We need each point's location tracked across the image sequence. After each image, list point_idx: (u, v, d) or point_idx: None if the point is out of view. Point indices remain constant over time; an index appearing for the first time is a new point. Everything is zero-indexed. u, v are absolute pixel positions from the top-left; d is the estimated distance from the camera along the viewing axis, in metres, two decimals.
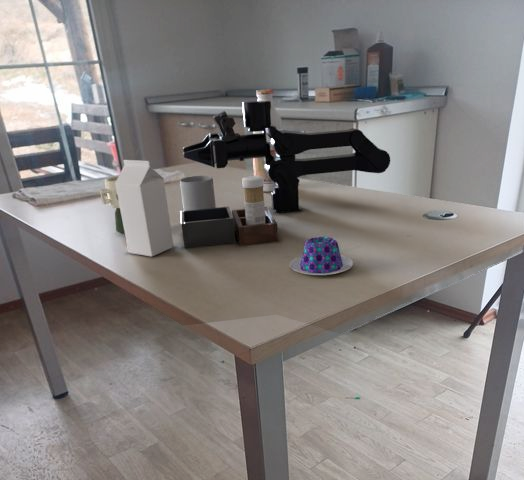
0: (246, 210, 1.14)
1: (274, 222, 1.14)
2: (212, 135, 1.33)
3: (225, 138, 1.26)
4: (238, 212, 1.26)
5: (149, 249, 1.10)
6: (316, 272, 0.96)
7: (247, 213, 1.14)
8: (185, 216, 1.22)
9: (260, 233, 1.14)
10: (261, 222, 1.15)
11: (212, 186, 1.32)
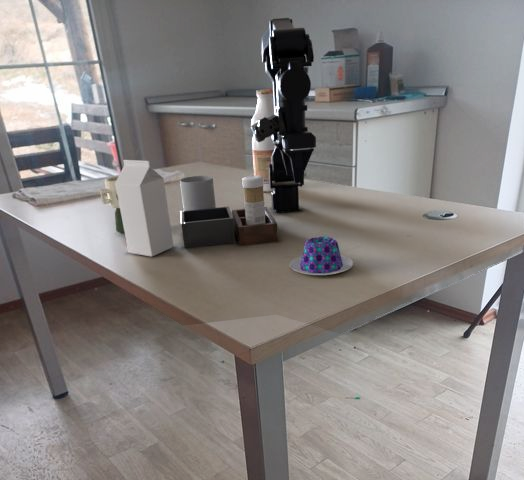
0: (246, 210, 1.14)
1: (274, 222, 1.14)
2: (275, 138, 1.14)
3: (281, 129, 1.06)
4: (238, 212, 1.26)
5: (149, 249, 1.10)
6: (316, 272, 0.96)
7: (247, 213, 1.14)
8: (185, 216, 1.22)
9: (260, 233, 1.14)
10: (261, 222, 1.15)
11: (212, 186, 1.32)
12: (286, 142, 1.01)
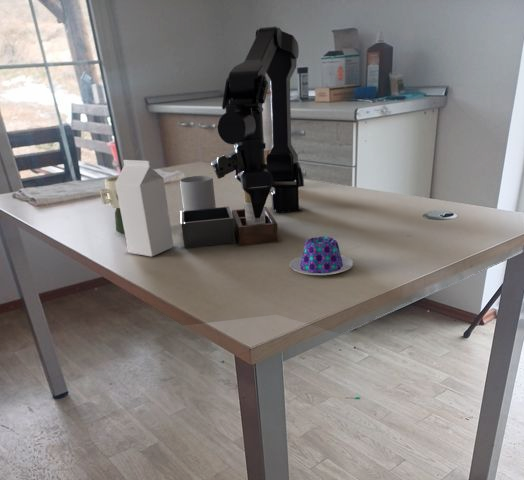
0: (246, 210, 1.14)
1: (274, 222, 1.14)
2: (236, 173, 1.17)
3: (240, 166, 1.08)
4: (238, 212, 1.26)
5: (149, 249, 1.10)
6: (316, 272, 0.96)
7: (247, 213, 1.14)
8: (185, 216, 1.22)
9: (260, 233, 1.14)
10: (261, 223, 1.15)
11: (212, 186, 1.32)
12: (243, 181, 1.03)
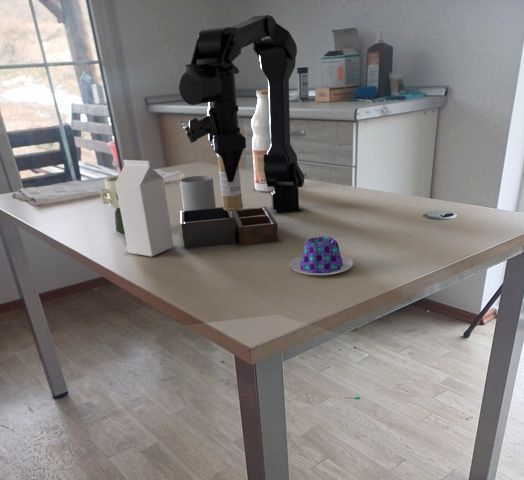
0: (221, 180, 1.12)
1: (274, 222, 1.14)
2: (210, 138, 1.14)
3: (212, 130, 1.05)
4: (238, 212, 1.26)
5: (149, 249, 1.10)
6: (316, 272, 0.96)
7: (222, 183, 1.12)
8: (185, 216, 1.22)
9: (260, 233, 1.14)
10: (237, 192, 1.13)
11: (212, 186, 1.32)
12: (215, 143, 1.01)
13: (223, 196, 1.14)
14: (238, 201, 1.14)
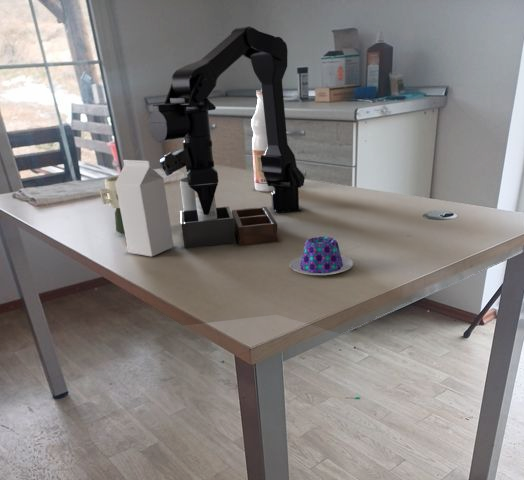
0: (197, 206, 1.17)
1: (274, 222, 1.14)
2: (188, 170, 1.18)
3: (187, 164, 1.10)
4: (238, 212, 1.26)
5: (149, 249, 1.10)
6: (316, 272, 0.96)
7: (198, 208, 1.17)
8: (185, 216, 1.22)
9: (260, 233, 1.14)
10: (212, 217, 1.18)
11: None
12: (188, 178, 1.05)
13: None
14: None
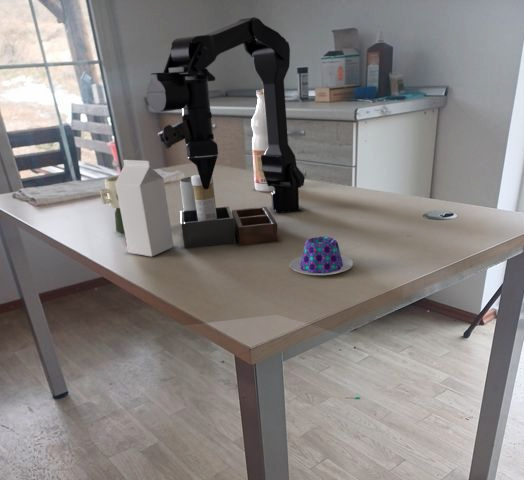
0: (197, 208, 1.17)
1: (274, 222, 1.14)
2: (187, 144, 1.16)
3: (186, 136, 1.07)
4: (238, 212, 1.26)
5: (149, 249, 1.10)
6: (316, 272, 0.96)
7: (198, 210, 1.17)
8: (185, 216, 1.22)
9: (260, 233, 1.14)
10: (212, 219, 1.17)
11: (212, 186, 1.32)
12: (187, 150, 1.03)
13: None
14: None
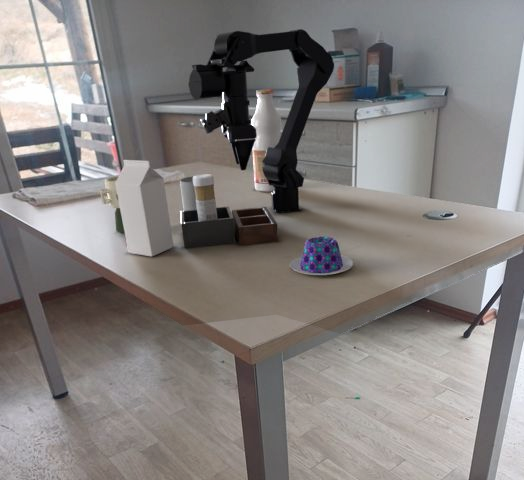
0: (197, 208, 1.17)
1: (274, 222, 1.14)
2: (224, 130, 1.27)
3: (226, 122, 1.19)
4: (238, 212, 1.26)
5: (149, 249, 1.10)
6: (316, 272, 0.96)
7: (198, 211, 1.17)
8: (185, 216, 1.22)
9: (260, 233, 1.14)
10: None
11: None
12: (229, 133, 1.14)
13: None
14: None
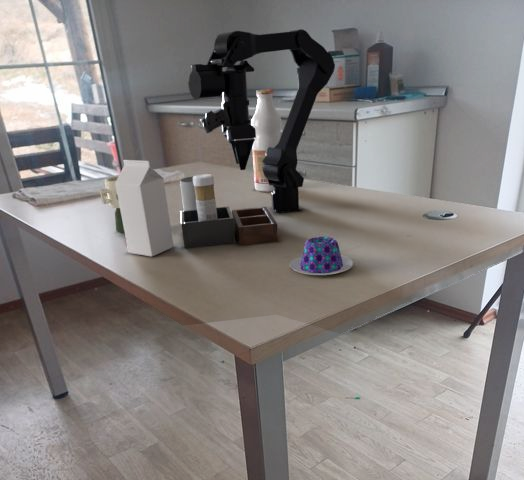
0: (197, 208, 1.17)
1: (274, 222, 1.14)
2: (224, 130, 1.27)
3: (226, 121, 1.19)
4: (238, 212, 1.26)
5: (149, 249, 1.10)
6: (316, 272, 0.96)
7: (198, 211, 1.17)
8: (185, 216, 1.22)
9: (260, 233, 1.14)
10: None
11: None
12: (229, 133, 1.14)
13: None
14: None
